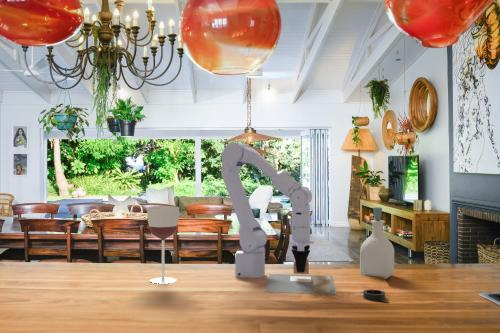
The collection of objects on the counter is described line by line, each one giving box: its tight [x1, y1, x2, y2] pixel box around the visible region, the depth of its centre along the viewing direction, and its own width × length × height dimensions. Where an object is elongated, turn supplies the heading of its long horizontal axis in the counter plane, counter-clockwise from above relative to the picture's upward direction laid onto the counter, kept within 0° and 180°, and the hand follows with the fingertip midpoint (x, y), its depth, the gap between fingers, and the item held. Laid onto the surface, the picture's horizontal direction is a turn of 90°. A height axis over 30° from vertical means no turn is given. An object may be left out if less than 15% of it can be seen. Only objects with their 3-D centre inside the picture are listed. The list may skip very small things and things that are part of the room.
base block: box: [293, 258, 310, 275], centre depth 156 cm, size 5×5×4 cm
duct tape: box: [359, 288, 391, 304], centre depth 136 cm, size 8×10×3 cm
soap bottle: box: [359, 206, 395, 280], centre depth 166 cm, size 10×10×23 cm
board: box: [264, 273, 338, 295], centre depth 152 cm, size 20×22×1 cm
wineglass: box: [146, 205, 180, 285], centre depth 159 cm, size 9×10×23 cm
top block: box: [312, 274, 331, 292], centre depth 144 cm, size 5×5×4 cm
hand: (300, 270), depth 156 cm, fingers closed on base block, 5 cm apart
